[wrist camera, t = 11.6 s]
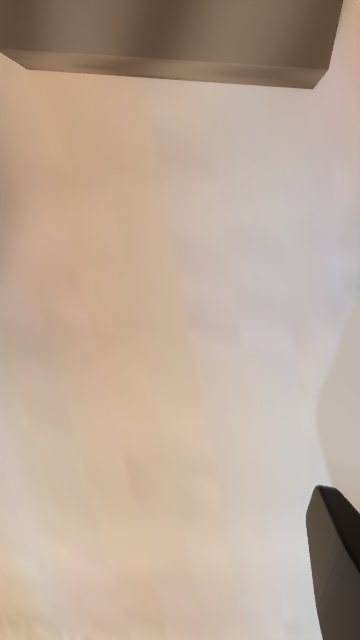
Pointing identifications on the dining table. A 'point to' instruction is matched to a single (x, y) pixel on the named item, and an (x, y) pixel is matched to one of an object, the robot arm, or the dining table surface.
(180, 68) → the walnut base
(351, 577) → the robot arm
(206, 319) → the dining table surface
